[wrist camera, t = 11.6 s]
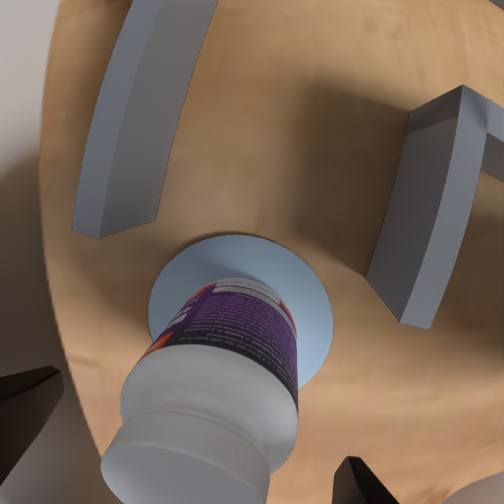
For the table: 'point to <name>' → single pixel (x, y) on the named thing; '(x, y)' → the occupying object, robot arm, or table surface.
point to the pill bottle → (210, 402)
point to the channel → (165, 124)
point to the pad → (254, 268)
